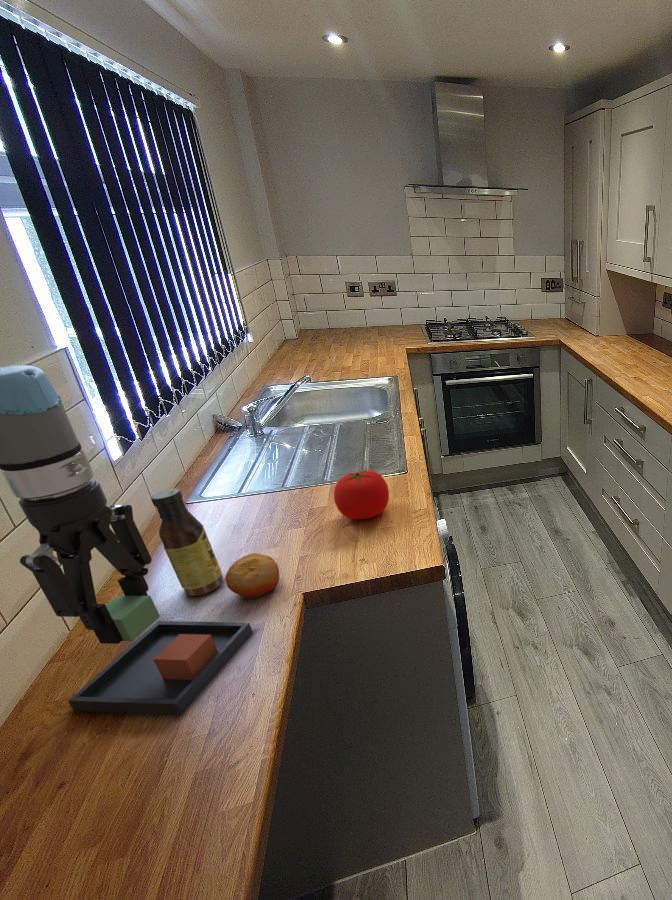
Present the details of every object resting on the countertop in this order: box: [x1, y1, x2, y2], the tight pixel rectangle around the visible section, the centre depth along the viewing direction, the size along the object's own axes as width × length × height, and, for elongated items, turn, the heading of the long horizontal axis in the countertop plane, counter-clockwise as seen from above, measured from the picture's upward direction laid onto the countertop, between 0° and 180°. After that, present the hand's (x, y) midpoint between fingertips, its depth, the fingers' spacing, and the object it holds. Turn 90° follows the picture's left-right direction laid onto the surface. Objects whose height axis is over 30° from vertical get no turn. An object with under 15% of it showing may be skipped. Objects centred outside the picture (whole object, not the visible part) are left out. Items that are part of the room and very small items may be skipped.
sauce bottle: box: [150, 487, 224, 597], centre depth 94 cm, size 7×6×20 cm
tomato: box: [333, 468, 390, 520], centre depth 118 cm, size 11×12×10 cm
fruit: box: [224, 552, 280, 600], centre depth 95 cm, size 8×8×8 cm
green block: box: [93, 595, 161, 642], centre depth 76 cm, size 5×5×4 cm
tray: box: [67, 620, 254, 716], centre depth 80 cm, size 16×16×2 cm
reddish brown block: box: [153, 634, 218, 680], centre depth 79 cm, size 5×5×4 cm
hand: (129, 626), depth 77 cm, fingers closed on green block, 5 cm apart
